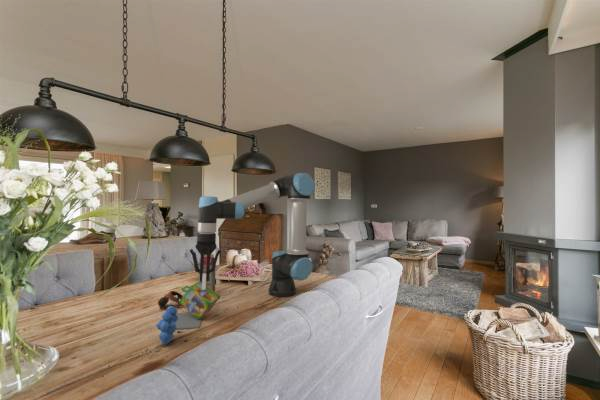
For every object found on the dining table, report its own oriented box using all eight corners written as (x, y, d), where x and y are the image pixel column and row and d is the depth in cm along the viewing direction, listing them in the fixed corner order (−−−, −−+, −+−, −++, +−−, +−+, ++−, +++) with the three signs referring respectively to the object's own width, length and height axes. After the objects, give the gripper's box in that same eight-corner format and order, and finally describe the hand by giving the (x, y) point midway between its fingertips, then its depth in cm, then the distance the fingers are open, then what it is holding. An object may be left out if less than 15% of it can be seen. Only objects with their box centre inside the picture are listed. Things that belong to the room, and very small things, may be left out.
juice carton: (202, 293, 157) (203, 253, 157) (215, 294, 157) (215, 253, 157) (198, 297, 150) (198, 255, 151) (210, 297, 150) (211, 255, 150)
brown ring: (167, 304, 142) (176, 289, 143) (180, 315, 138) (189, 300, 139) (148, 305, 131) (158, 289, 132) (161, 318, 127) (172, 301, 128)
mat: (203, 312, 130) (203, 311, 130) (199, 328, 113) (199, 326, 113) (170, 314, 127) (170, 313, 127) (160, 331, 110) (160, 329, 110)
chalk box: (210, 305, 117) (184, 281, 119) (198, 321, 119) (172, 297, 121) (221, 296, 126) (196, 274, 128) (209, 311, 128) (185, 289, 130)
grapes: (162, 334, 107) (163, 301, 108) (181, 334, 108) (182, 301, 108) (148, 350, 96) (148, 313, 96) (169, 349, 96) (169, 313, 96)
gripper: (223, 232, 128) (220, 286, 127) (191, 231, 125) (188, 286, 124) (222, 233, 120) (219, 291, 120) (189, 233, 118) (186, 291, 117)
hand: (203, 288), depth 122 cm, fingers closed
